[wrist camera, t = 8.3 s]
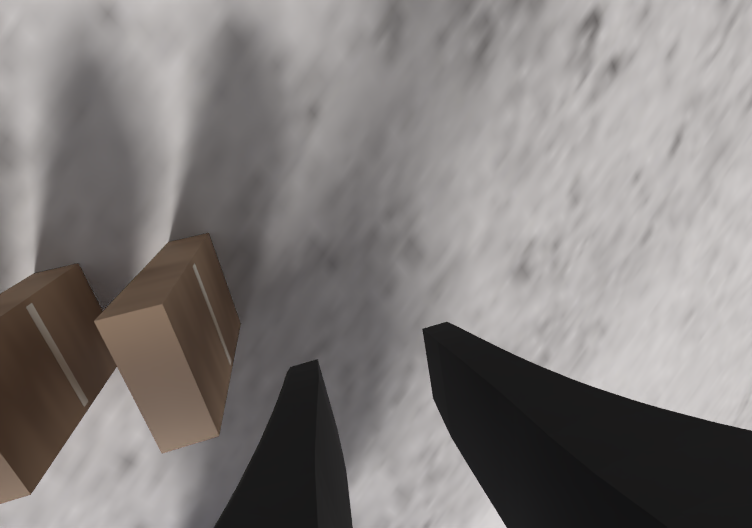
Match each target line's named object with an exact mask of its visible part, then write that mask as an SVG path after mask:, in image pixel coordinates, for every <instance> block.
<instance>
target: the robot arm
mask: <svg viewBox="0 0 752 528" xmlns="http://www.w3.org/2000/svg"><path fill="white" fill-rule="evenodd" d="M423 336H424V342H425V349H426V355H427V361H428V368H429V374H430V381H431V387H432V394H433V399H434V401H435V403H436V406H437V408H438V410H439V412H440V414H441V417H442V419H443V421H444V423H445V425H446V427H447V429H448V431H449V433H450V436H451V437H452V439H453V441H454V442H455V444H456V446H457V447H458V449H459V451H460V452H461V454H462V456H463V457H464V459H465V461H466V462H467V464H468V465H469V467H470V469H471V470H472V472H473V474H474V475H475V477H476V478H477V480H478V482H479V483H480V485H481V487H482V488H483V490H484V491H485V493H486V495H487V496H488V498H489V499H490V501H491V503H492V504H493V506H494V508H495V509H496V511H497V512H498V514H499V516H500V517H501V519H502V520H503V522H504V524H505V525H506V527H507V528H752V431H750V430H746V429H741V428H737V427H733V426H728V425H724V424H720V423H715V422H711V421H707V420H704V419H700V418H696V417H692V416H688V415H685V414H681V413H677V412H673V411H669V410H665V409H662V408H658V407H655V406H651V405H648V404H644V403H641V402H638V401H634V400H631V399H628V398H625V397H622V396H619V395H616V394H613V393H610V392H607V391H604V390H601V389H598V388H595V387H592V386H589V385H586V384H584V383H581V382H578V381H576V380H573V379H570V378H568V377H565V376H563V375H560V374H558V373H556V372H553V371H551V370H548V369H546V368H543V367H541V366H538V365H536V364H534V363H532V362H529V361H527V360H525V359H523V358H520V357H518V356H516V355H514V354H512V353H510V352H508V351H505V350H503V349H501V348H499V347H497V346H495V345H493V344H491V343H489V342H487V341H485V340H483V339H481V338H479V337H477V336H475V335H473V334H471V333H469V332H467V331H465V330H463V329H461V328H459V327H457V326H455V325H453V324H451V323H449V322H444V323H441V324H438V325H434V326H431V327H427V328H424V329H423ZM214 528H353V527H352V518H351V509H350V500H349V491H348V482H347V473H346V468H345V463H344V458H343V453H342V449H341V444H340V439H339V435H338V430H337V426H336V423H335V419H334V416H333V412H332V409H331V405H330V402H329V398H328V394H327V391H326V387H325V384H324V380H323V377H322V373H321V370H320V366H319V363H318V359H317V360H313V361H310V362H306V363H303V364H299V365H296V366H292V367H290V369H289V370H288V372H287V374H286V377H285V380H284V383H283V386H282V389H281V392H280V394H279V397H278V400H277V402H276V405H275V407H274V410H273V412H272V415H271V417H270V419H269V422H268V424H267V426H266V428H265V431H264V433H263V435H262V438H261V440H260V442H259V444H258V446H257V448H256V451H255V452H254V454H253V456H252V458H251V460H250V462H249V464H248V466H247V468H246V470H245V472H244V474H243V476H242V478H241V480H240V482H239V484H238V486H237V488H236V490H235V491H234V493H233V495H232V497H231V499H230V500H229V502H228V504H227V506H226V508H225V509H224V511H223V513H222V514H221V516H220V518H219V520H218V521H217V523H216V525H215V526H214Z"/></svg>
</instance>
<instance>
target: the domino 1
mask: <svg viewBox="0 0 752 528" xmlns="http://www.w3.org/2000/svg"><path fill="white" fill-rule="evenodd" d="M102 312H103V311H102V309H101V307H100V305H99V303H98V301H97V299H96V297H95V295H94V293H93V292H92V290H91V288H90V286H89V284H88V282H87V280H86V278H85V276H84V274H83V272H82V270H81V268H80V266H79V264H78V263H77V264H73V265H68V266H64V267H60V268H55V269H51V270H47V271H42V272H38V273H34V274H32V275H31V276H29V277H27V278H26V279H24V280H22V281H21V282H19V283H17V284H16V285H14V286H12V287H11V288H9V289H7V290H6V291H4V292H2V293H1V294H0V504H2V503H5V502H8V501H12V500H15V499H18V498H21V497H25V496H28V495H31V493H32V492H33V490H34V489H35V487H36V486H37V485H38V483H39V482H40V480H41V479H42V477H43V476H44V474H45V473H46V471H47V470H48V468H49V467H50V465H51V464H52V462H53V461H54V459H55V458H56V456H57V455H58V453H59V452H60V450H61V449H62V447H63V446H64V444H65V443H66V441H67V440H68V438H69V437H70V435H71V434H72V432H73V431H74V429H75V428H76V427H77V425H78V424H79V422H80V421H81V419H82V418H83V416H84V415H85V413H86V412H87V410H88V409H89V407H90V406H91V404H92V403H93V401H94V400H95V398H96V397H97V395H98V394H99V392H100V391H101V389H102V388H103V386H104V385H105V383H106V382H107V380H108V379H109V377H110V376H111V374H112V373H113V372H114V370H115V369H116V367H117V365H116V363H115V361H114V359H113V357H112V356H111V354H110V352H109V350H108V348H107V346H106V344H105V342H104V340H103V338H102V336H101V334H100V332H99V330H98V328H97V326H96V324H95V322H94V320H95V319H96V318H97V317H98V316H99V315H100V314H101V313H102Z"/></svg>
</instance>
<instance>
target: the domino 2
mask: <svg viewBox="0 0 752 528" xmlns="http://www.w3.org/2000/svg"><path fill="white" fill-rule="evenodd" d="M94 322H95V324H96V326H97V328H98V330H99V332H100V334H101V336H102V338H103V340H104V342H105V344H106V346H107V348H108V350H109V352H110V354H111V356H112V357H113V359H114V361H115V363H116V365H117V367H118V369H119V371H120V373H121V375H122V377H123V379H124V381H125V383H126V385H127V387H128V389H129V391H130V393H131V394H132V396H133V398H134V400H135V402H136V404H137V406H138V408H139V410H140V412H141V414H142V416H143V418H144V420H145V422H146V424H147V426H148V428H149V430H150V431H151V433H152V435H153V437H154V439H155V441H156V443H157V445H158V447H159V449H160V451H161V453H166V452H169V451H172V450H175V449H179V448H182V447H185V446H188V445H192V444H195V443H198V442H202V441H205V440H208V439H211V438H215V437H218V436H219V434H220V429H221V424H222V418H223V413H224V408H225V403H226V398H227V392H228V387H229V382H230V377H231V372H232V366H233V361H234V356H235V351H236V345H237V340H238V335H239V330H240V325H241V323H240V320H239V318H238V315H237V312H236V309H235V306H234V303H233V300H232V298H231V295H230V292H229V289H228V286H227V283H226V281H225V278H224V275H223V272H222V269H221V266H220V264H219V261H218V258H217V255H216V252H215V249H214V246H213V244H212V241H211V238H210V235H209V233H206V234H202V235H197V236H193V237H188V238H184V239H179V240H175V241H171V242H168V243H167V244H166V245H165V246H164V247H163V248H162V249H161V251H160V252H159V253H158V254H157V255H156V256H155V257H154V258H153V259H152V260H151V261H150V262H149V263H148V264H147V265H146V266H145V267H144V268H143V270H142V271H141V272H140V273H139V274H138V275H137V276H136V277H135V278H134V279H133V280H132V281H131V282H130V283H129V284H128V285H127V286H126V288H125V289H124V290H123V291H122V292H121V293H120V294H119V295H118V296H117V297H116V298H115V299H114V300H113V301H112V302H111V303H110V304H109V306H108V307H107V308H106V309H105V310H104V311H103V312H102V313H101V314H100V315H99V316H98V317H97V318H96V319H95V320H94Z"/></svg>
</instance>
